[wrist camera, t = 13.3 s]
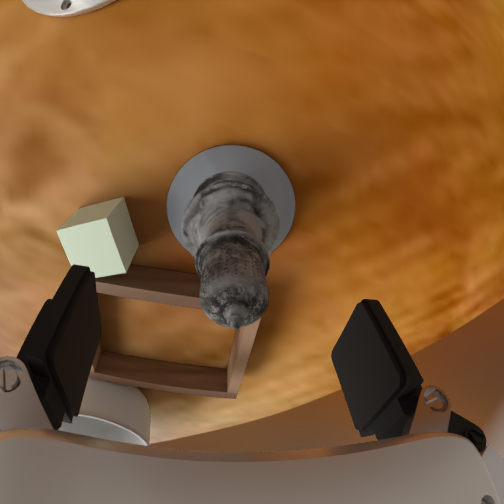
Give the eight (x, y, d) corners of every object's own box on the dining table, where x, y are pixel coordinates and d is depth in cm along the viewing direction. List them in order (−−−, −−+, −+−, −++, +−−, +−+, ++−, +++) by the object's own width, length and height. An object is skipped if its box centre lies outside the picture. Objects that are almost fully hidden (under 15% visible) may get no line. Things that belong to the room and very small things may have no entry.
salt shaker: (205, 154, 20) (183, 233, 9) (286, 186, 21) (345, 290, 11) (175, 230, 22) (141, 357, 12) (251, 256, 24) (272, 389, 13)
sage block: (79, 208, 21) (56, 230, 18) (124, 196, 21) (106, 218, 18) (95, 253, 23) (77, 280, 20) (139, 244, 23) (126, 272, 20)
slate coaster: (177, 134, 20) (175, 136, 19) (307, 158, 21) (309, 160, 21) (162, 252, 24) (161, 256, 23) (276, 269, 25) (278, 273, 25)
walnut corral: (81, 256, 23) (67, 275, 21) (260, 283, 26) (264, 306, 23) (93, 354, 29) (86, 376, 26) (234, 375, 31) (235, 398, 29)
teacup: (61, 347, 28) (36, 405, 21) (155, 365, 30) (145, 431, 23) (84, 414, 35) (72, 461, 28) (159, 428, 36) (154, 479, 29)
